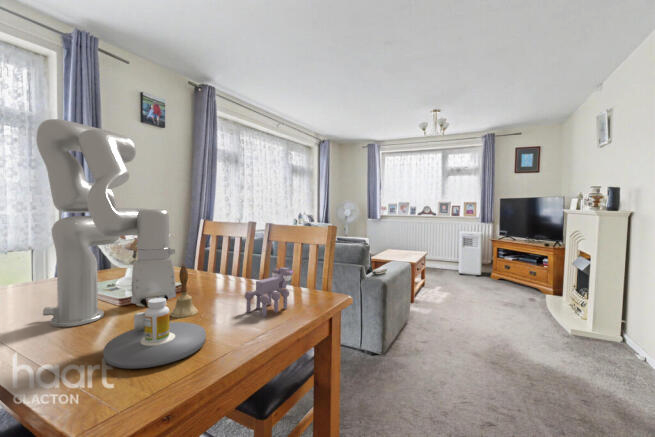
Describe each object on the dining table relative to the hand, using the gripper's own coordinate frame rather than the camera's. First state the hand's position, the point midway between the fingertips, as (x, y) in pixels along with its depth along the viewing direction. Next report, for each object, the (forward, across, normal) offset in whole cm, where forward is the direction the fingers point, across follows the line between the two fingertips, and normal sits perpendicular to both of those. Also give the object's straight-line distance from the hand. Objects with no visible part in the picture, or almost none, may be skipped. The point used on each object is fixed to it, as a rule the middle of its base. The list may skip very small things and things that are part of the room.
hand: (154, 321), depth 84 cm
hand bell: (+4, -10, -14) cm, 18 cm away
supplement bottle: (+2, +1, +9) cm, 9 cm away
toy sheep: (+4, -38, -2) cm, 38 cm away
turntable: (+4, 0, +9) cm, 10 cm away
